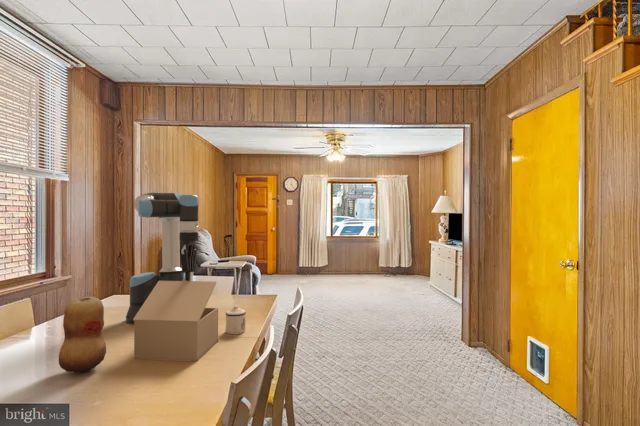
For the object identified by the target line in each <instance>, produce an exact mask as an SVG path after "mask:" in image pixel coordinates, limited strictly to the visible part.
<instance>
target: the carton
mask: <svg viewBox="0 0 640 426" xmlns="http://www.w3.org/2000/svg"><path fill="white" fill-rule="evenodd" d="M133 325H134V326H133V327H134V328H133V329H134V332H133V334H134V335H133V337H134V338H133V340H134V341H133V342H134V343H133V347H134V348H133V349H134V350H133V354H134V355H133V356H134V357H133V359H134V360H155V361H156V360H158V361H182V362H185V361H186V362H199V360H200V359H201V358H202V357H203V356H204V355H205V354H206V353H207V352H209V350H211V348H213V347H214V346H215V345H216V344H217V343H219V307H205V309H204V311H203V313H202V316H201V318H200V320H199V322H198V323H189V322H149V321H134V324H133Z"/></svg>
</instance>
